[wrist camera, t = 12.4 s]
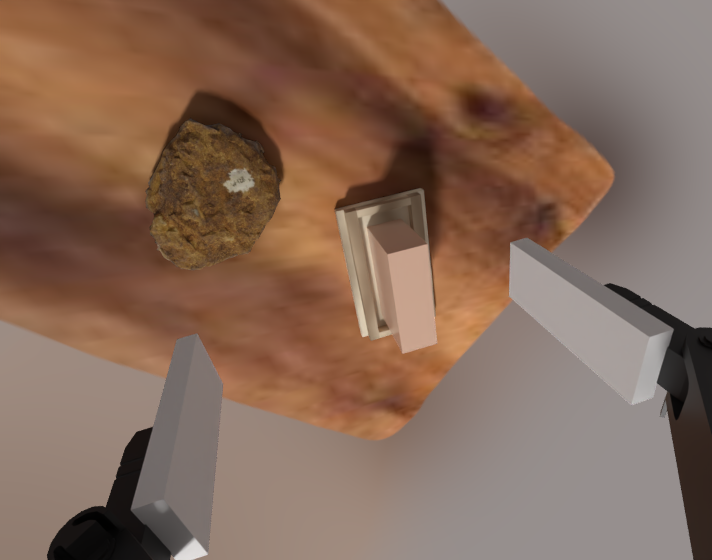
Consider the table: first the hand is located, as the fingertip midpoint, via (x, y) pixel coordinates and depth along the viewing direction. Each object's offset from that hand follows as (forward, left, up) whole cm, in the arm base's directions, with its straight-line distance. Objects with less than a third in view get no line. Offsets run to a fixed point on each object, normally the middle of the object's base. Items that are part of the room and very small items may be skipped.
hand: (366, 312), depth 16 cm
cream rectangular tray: (+13, +8, -28) cm, 31 cm away
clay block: (+13, +8, -27) cm, 31 cm away
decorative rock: (0, -9, -28) cm, 30 cm away
